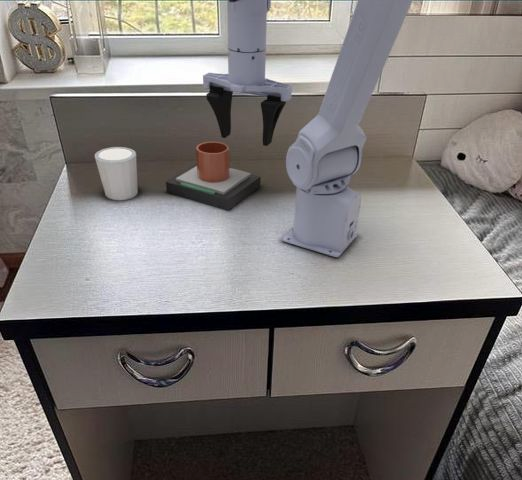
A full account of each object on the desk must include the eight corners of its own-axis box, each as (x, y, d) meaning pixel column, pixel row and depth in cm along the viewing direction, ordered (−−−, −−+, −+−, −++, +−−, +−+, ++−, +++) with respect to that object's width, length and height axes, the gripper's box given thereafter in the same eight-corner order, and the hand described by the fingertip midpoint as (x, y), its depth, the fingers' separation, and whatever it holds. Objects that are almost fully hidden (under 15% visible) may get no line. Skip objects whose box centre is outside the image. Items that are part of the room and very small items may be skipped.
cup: (235, 173, 94) (235, 145, 90) (218, 185, 90) (217, 156, 86) (209, 166, 96) (208, 139, 92) (191, 177, 92) (189, 149, 88)
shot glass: (94, 197, 91) (86, 158, 86) (114, 182, 96) (108, 143, 91) (129, 204, 89) (123, 164, 85) (148, 188, 94) (143, 149, 89)
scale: (260, 186, 96) (260, 173, 94) (228, 210, 89) (228, 196, 87) (201, 171, 100) (200, 157, 99) (166, 192, 93) (165, 178, 91)
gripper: (191, 47, 78) (196, 140, 87) (281, 60, 74) (277, 155, 83) (213, 38, 83) (216, 127, 92) (299, 50, 79) (293, 141, 88)
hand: (246, 139), depth 88 cm, fingers open, 7 cm apart
